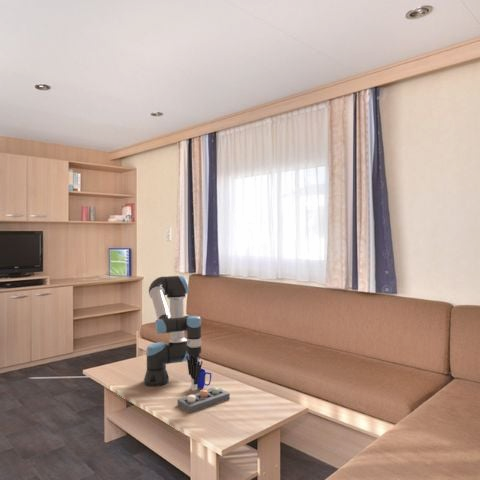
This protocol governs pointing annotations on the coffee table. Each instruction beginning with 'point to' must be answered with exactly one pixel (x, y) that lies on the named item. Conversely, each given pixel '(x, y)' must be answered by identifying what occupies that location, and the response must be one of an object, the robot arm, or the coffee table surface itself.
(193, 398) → the button ivory
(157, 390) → the coffee table surface
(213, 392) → the button sage
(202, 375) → the mug
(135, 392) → the coffee table surface
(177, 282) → the robot arm
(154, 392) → the coffee table surface
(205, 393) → the button terracotta
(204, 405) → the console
